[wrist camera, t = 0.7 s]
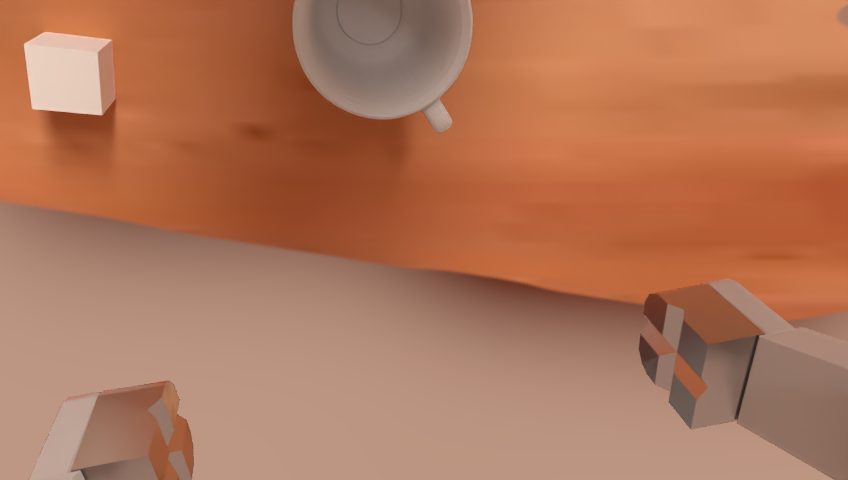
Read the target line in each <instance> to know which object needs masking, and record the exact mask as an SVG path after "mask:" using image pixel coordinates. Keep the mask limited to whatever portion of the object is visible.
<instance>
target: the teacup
mask: <svg viewBox="0 0 848 480" xmlns="http://www.w3.org/2000/svg"><path fill="white" fill-rule="evenodd" d="M292 30H293V40H294V45H295V50H296V53H297V56H298V60H299V62H300V65H301V67H302V69H303V71H304V73H305V75H306V76H307V78H308V79H309V81H310V82H311V84H312V85H313V86H314V87H315V88H316V90H317V91H318V92H319V93H320V94H321V95H322V96H324V97H325V98H326V99H327V100H328V101H330V102H331V103H333V104H334V105H335V106H337V107H339V108H341V109H343V110H345V111H346V112H349V113H352V114H354V115H357V116H361V117H365V118H370V119H379V120H380V119H395V118H401V117H404V116H408V115H411V114H413V113H416V112H418V111H420V110H422V112H423V113H424V115H425V116H426V118H427V119H428V121H429V123H430V124H431V126H432V127H433V129H434V130H435V131H436V132H437V133H442V132H444V131H446V130H447V129H449V128H450V127H451V125H452V119H451V117H450V115H449V113H448V112H447V110H446V109H445V107H444V105H443V104H442V102H441V101H440V99H439V98H440V97H441V96H442V95H443V94H444V93H445V92H446V91H447V90H448V89H449V88H450V87H451V85H452V84H453V83H454V82H455V81H456V79H457V77H458V76H459V74H460V73H461V71H462V69H463V67H464V64H465V62H466V60H467V57H468V53H469V50H470V46H471V40H472V31H473V15H472V7H471V1H470V0H295V3H294V8H293V18H292Z"/></svg>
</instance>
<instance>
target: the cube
mask: <svg viewBox="0 0 848 480" xmlns="http://www.w3.org/2000/svg"><path fill="white" fill-rule="evenodd" d="M24 49H25V57H26V64H27V72H28V80H29V88H30V96H31V104H32V109H38V110H49V111H60V112H71V113H82V114H93V115H103V114H104V113H105V111H106V110H107V109H108V108H109V106H110V105H111V104H112V103H113V101H114V100H115V99H116V91H115V75H114V60H113V44H112V40H110V39H102V38H94V37H85V36H77V35H69V34H60V33H52V32H44V33H42V34H40V35H39V36H37V37H35V38H33V39H32V40H30V41H28V42H26V43H25V44H24Z"/></svg>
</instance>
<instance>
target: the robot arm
mask: <svg viewBox="0 0 848 480" xmlns="http://www.w3.org/2000/svg"><path fill="white" fill-rule="evenodd" d="M643 314H644V315H645V316H646V318H647V319H648V320H649V323H648V325H647V326H646V327H645V329H644V330H643V331H642V332H641V333H640V343H639V352H640V356H641V361H642V364H643V366H644V369H645V371H646V373H647V375H648V376H649V377H650V378H651V380H652V381H653V382H654V384H655V385H658V386H660V387H662V388H664V389H666V390H668V391H670V395H669V403H670V404H671V405H672V407H673V408H674V409H675V410H676V412H677V413H678V414H679V415H680V417H681V418H682V419H683V420H684V422H685V423H686V424H687V425H688V427H689V428H690V429H695V428H700V427H706V426H711V425H716V424H722V423H727V422H732V421H737V423H738V424H740V425H741V426H743V427H744V428H746V429H748V430H750V431H751V432H753V433H755V434H757V435H758V436H760V437H762V438H764V439H765V440H767V441H769V442H770V443H772V444H774V445H775V446H777V447H779V448H781V449H782V450H784V451H786V452H787V453H789V454H791V455H793V456H795V457H796V458H798V459H799V460H801V461H803V462H805V463H806V464H808V465H810V466H812V467H813V468H815V469H817V470H818V471H820V472H822V473H824V474H825V475H827V476H829V477H830V478H832V479H834V480H848V342H846V341H843V340H840V339H837V338H834V337H831V336H828V335H825V334H822V333H819V332H816V331H813V330H810V329H807V328H804V327H802V328H797V329H795V328H793V327H792V326H791V325H790V324H789V323H787V322H786V321H785V320H784V319H782V318H781V317H780V316H779V315H778V314H776V313H775V312H774V311H773V310H771V309H770V308H769V307H768V306H766V305H765V304H764V303H763V302H761V301H760V300H759V299H758V298H756V297H755V296H754V295H753V294H752V293H750V292H749V291H748V290H747V289H745V288H744V287H743V286H742V285H740V284H739V283H738V282H737V281H735V280H732V279H728V278H725V279H720V280H716V281H711V282H706V283H701V284H700V285H695V286H690V287H684V288H679V289H674V290H668V291H663V292H657V293H652V294H649V295H648V297H647V299H646V301H645V304H644V311H643ZM179 400H180V399H179V397H178V394H177V391H176V390H175V386H174V384H173V383H172V382H170V381H164V382H157V383H151V384H144V385H138V386H132V387H126V388H119V389H114V390H107V391H103V392H97V393H90V394H85V395H79V396H73V397H69V398H68V399H66V400H65V401H64V402H63V403H62V404H61V407H60V409H59V411H58V414H57V416H56V418H55V420H54V423H53V425H52V427H51V430H50V432H49V434H48V436H47V439H46V441H45V443H44V446H43V448H42V450H41V453H40V455H39V457H38V460H37V462H36V464H35V466H34V468H33V471H32V473H31V475H30V477H29V480H192V473H193V466H194V457H193V442H192V437H191V432H190V429H189V426H188V423H187V420H186V419H184V418H182V417H181V416H179V415H178V414H177V410H178V405H179Z"/></svg>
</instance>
